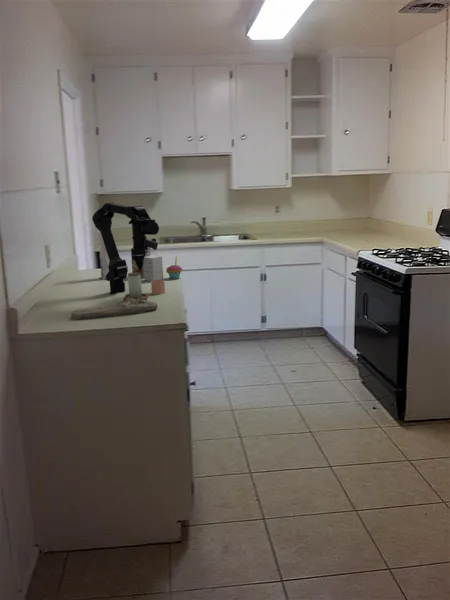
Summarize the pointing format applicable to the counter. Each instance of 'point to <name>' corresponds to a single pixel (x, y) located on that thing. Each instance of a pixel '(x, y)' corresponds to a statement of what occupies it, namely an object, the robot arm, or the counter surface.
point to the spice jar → (134, 285)
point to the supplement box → (153, 268)
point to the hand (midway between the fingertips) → (141, 268)
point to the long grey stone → (115, 309)
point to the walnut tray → (144, 297)
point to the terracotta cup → (158, 286)
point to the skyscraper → (103, 258)
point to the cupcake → (174, 270)
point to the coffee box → (135, 267)
